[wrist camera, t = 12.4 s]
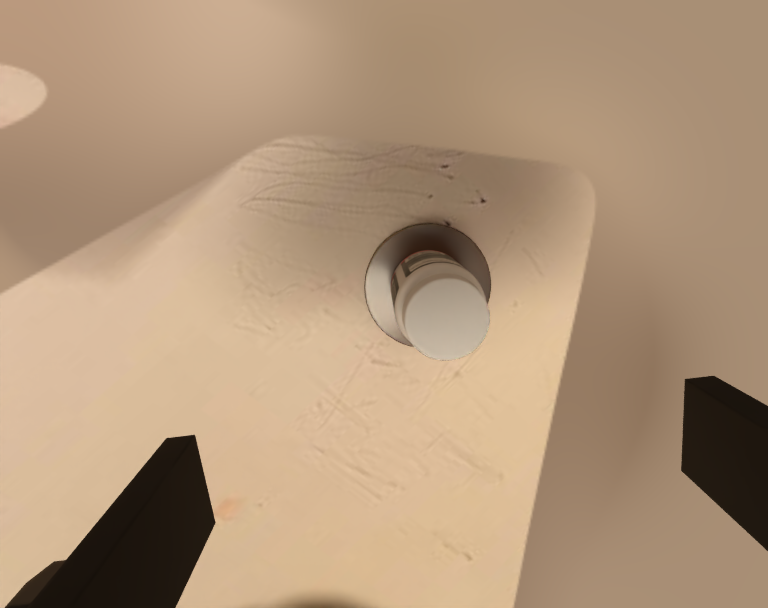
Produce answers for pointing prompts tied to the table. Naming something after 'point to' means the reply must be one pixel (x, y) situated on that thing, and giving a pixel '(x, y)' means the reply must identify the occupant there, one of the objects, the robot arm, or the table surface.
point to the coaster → (403, 247)
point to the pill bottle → (439, 305)
